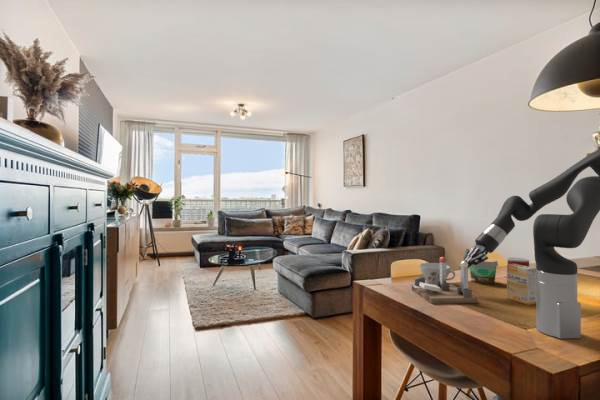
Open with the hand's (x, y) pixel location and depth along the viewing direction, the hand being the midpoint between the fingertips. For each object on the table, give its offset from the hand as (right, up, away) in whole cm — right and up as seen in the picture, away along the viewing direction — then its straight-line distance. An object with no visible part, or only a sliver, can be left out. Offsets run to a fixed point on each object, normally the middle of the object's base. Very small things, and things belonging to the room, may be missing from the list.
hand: (461, 270), depth 133 cm
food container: (+18, -9, +16) cm, 25 cm away
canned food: (+32, -9, +14) cm, 36 cm away
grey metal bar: (-4, -7, -10) cm, 12 cm away
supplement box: (+17, -10, -10) cm, 22 cm away
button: (-15, -7, +4) cm, 17 cm away
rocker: (-15, -6, -5) cm, 17 cm away
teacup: (-3, -10, +16) cm, 19 cm away
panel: (-9, -9, -3) cm, 13 cm away
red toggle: (-8, -7, 0) cm, 10 cm away
